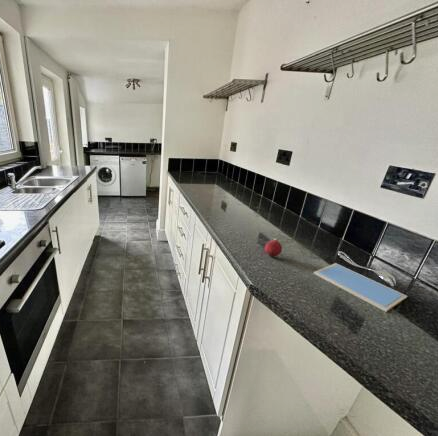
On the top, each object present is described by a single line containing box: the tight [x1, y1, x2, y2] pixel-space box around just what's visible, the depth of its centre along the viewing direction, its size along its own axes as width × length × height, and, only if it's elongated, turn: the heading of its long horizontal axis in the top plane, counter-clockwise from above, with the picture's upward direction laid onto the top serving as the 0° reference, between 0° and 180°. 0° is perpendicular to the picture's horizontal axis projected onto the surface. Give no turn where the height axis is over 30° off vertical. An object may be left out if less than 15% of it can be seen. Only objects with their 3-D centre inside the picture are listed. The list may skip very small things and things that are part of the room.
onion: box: [264, 238, 283, 258], centre depth 90 cm, size 6×6×8 cm
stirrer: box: [336, 250, 397, 287], centre depth 85 cm, size 20×4×5 cm
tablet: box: [313, 262, 408, 313], centre depth 76 cm, size 14×20×1 cm
